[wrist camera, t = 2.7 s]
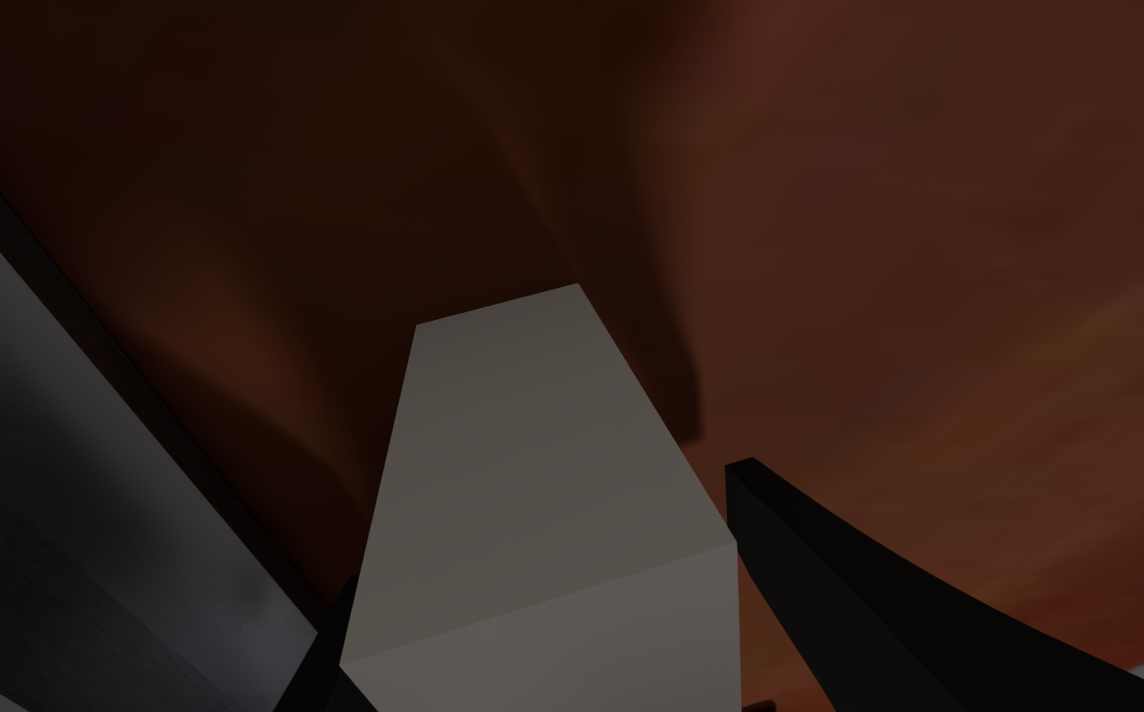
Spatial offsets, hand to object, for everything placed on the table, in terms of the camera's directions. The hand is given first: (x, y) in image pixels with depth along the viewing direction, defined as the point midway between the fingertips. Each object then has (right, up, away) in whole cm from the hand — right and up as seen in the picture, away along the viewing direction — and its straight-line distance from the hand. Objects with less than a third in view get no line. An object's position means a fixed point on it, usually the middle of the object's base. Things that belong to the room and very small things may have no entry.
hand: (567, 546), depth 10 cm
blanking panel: (0, +1, +1) cm, 2 cm away
